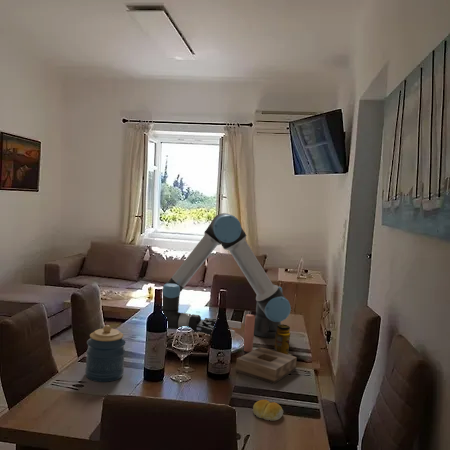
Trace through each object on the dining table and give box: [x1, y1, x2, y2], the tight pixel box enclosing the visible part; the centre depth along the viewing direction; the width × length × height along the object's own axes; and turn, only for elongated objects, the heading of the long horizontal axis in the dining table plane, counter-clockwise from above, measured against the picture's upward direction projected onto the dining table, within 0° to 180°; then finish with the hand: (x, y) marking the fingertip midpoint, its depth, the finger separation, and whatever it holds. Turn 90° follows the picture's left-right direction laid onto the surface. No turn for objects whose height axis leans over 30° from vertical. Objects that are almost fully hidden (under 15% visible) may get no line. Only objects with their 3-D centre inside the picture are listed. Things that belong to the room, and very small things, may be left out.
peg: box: [243, 313, 256, 353], centre depth 200 cm, size 4×4×15 cm
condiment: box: [273, 323, 293, 356], centre depth 198 cm, size 7×8×12 cm
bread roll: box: [252, 399, 284, 422], centre depth 143 cm, size 8×9×4 cm
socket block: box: [235, 346, 298, 384], centre depth 178 cm, size 18×16×5 cm
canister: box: [84, 324, 127, 383], centre depth 163 cm, size 13×13×18 cm
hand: (237, 329), depth 200 cm, fingers open, 13 cm apart
